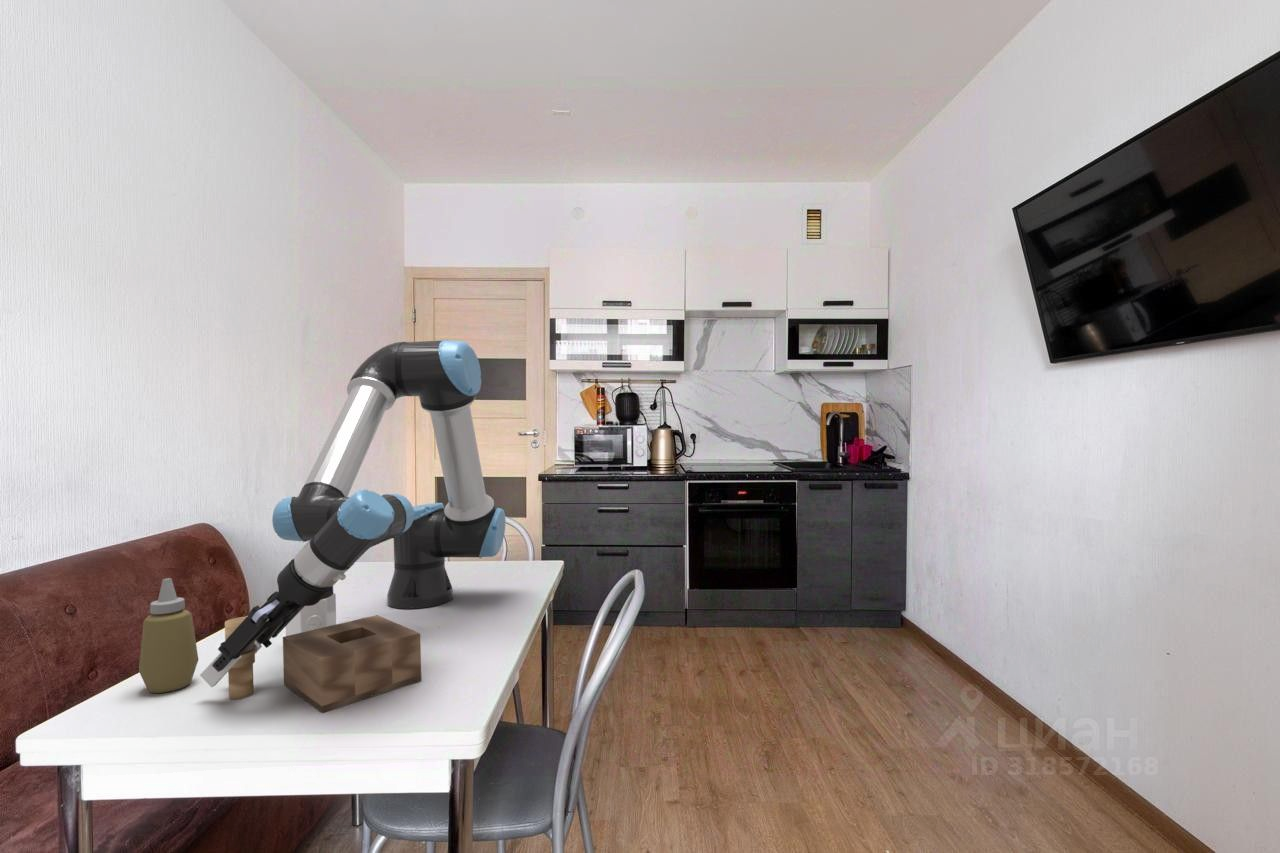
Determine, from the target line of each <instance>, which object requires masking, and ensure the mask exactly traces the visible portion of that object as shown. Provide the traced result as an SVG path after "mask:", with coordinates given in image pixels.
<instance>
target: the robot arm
mask: <svg viewBox="0 0 1280 853" xmlns="http://www.w3.org/2000/svg"><path fill="white" fill-rule="evenodd" d="M481 376H482V371H481V365H480V362H479V359H478V356H477V354H476V352H475V350H474V349H473V347H472V346H471V345H470V344H468V343H467V342H465V341H463V340H449V339H445V340H426V341H397V342H393V343H390V344H388V345H385V346H383V347H381V348H380V349H377V350H376V351H375V352H373V353H372V354H371V355H370V356H369V357H367V358H366V359H365V360H364V361H363V362H362V363H361V364H360V365H359V367H357V369H356V370H355V372H353V375H352V376H351V378H350V380H349V382H348V384H347V386H346V394H347V398H346V400H345V402H344V404H343V406H342V408H341V410H340V412H339V414H338V416H337V418H336V421H335V422H334V423H333V426H332V428H331V430H330V432H329V434H328V436H327V438H326V441H325V443H324V444H323V447H322V449H321V451H320V452H319V453H318V456H317V458H316V461H315V463H314V464H313V466H312V469H311V470H310V472H309V475H308V476H307V479H306V480H305V482H304V485H303V486H302V488H301V490H300V492H299V494H298V496H290V497H285V498H283V499H281V501H278V502H277V504H276V505H275V507H274V509H273V511H272V512H273V513H272V519H271V521H272V522H271V523H272V528H273V531H274V532H275V533H276V536H277V537H279V538H280V539H281V540H285V541H293V542H303V543H306V544H304V546H303V547H302V548H300V550H299V551H298V552H297V553H296V554H295V555H294V558H292V559H291V560H290V562H288V563H287V564H286V565H285V566H284V568H282V570H281V571H280V572H279V573H278V575H277V577H276V579H277V580H276V582H277V588H278V591H274V592H273V593H272V594H271V595H270V596H268V598H267V599H266V601H265V603H264V604H262V606H259V605H256V606H254V607H252V609H251V610H250V612H248V615H247V616H245V617H246V618H245V619H244V621H243V622H242V623H241V624H240V625H239V626H238V627H237V628H236V629H235V631H234V632H233V633H232V634H231V635H230V636H229V637H228V638H227V639H226V640H225V639H224V641H223V642H221V643H220V644H219V647H218V649H217V651H218V652H220V653H219V654H218V655H217V656H216V657H215V658H214V659H213V660H212V661H211V663H210V664H209V665H208V666H207V667H206V668H205V669H204V670H203V671H202V673H200V674H199V676H200V677H201V678H202V679H203V681H205V683H206V684H208V686H210V688H213V687H215V686H216V685H217V684H218V683H219V682H220V681H221V680H222V679H223V678H224V677H225V675H226V674H228V671H229V670H230V669H231V668H232V667H233V666H234V665H235V664H236V663H237V661H238V660H239V659H240V658H241V656H240V655H241V654H242V653H243V652H244V651H245V650H246V649H247V648H248V647H249V646H250V645H251V644H252V643H253V642H255V655H256V654H257V653H258V651H260V649H261V648H263V647H262V646H264V647H265V648H266V649H267V648H269V647H270V646H271V645H273V643H272V642H271V641H270V640H271V639H274V638H276V637H278V636H279V634H280V633H281V632H282V631H283V629H286V626H287V624H288V623H289V622H290V621H291V620H292V619H293V618H294V617H295V616H296V615H297V614H298V613H299V612H300V611H301V610H302V609H303V608H304V606H312V605H315V604H317V603H318V602H319V601H320V600H321V599H322V598H323V597H324V596H325V595H326V594H327V593H328V591H329V590H330V589H331V587H332V586H333V587H334V585H335V584H336V583H337V582H339V580H340V581H344V580H345V579H346V578H347V575H346V574H345V573H347V571H349V569H351V568H352V567H353V566H354V564H355V563H356V562H357V561H358V560H359V559H360V558H361V557H363V555H364V554H365V553H366V552H367V551H368V550H369V549H370V548H373V547H375V546H377V545H379V544H381V543H384V542H387V541H389V540H392V539H393V560H394V562H393V564H394V567H393V568H394V570H393V575H392V579H391V582H390V585H389V587H388V591H387V595H386V597H387V598H386V600H387V602H386V603H387V606H389V607H390V608H391V607H392V608H394V609H408V610H410V609H422V608H430V607H434V606H438V605H442V604H445V603H447V602H450V601H451V600H452V599H453V598H454V597H453V596H454V592H453V590H454V589H453V585H452V583H451V580H450V577H449V575H448V572H447V569H446V566H445V565H446V564H445V561H446V560H445V558H479V559H481V558H492V557H495V556H497V555H498V553H499V552H500V550H501V548H502V546H503V544H504V537H505V533H506V514H505V510H504V509H503V508H500V507H497V508H496V507H495V506H496V505H495V501H494V499H493V497H491V496H490V495H488V494H487V492H486V488H485V482H484V477H483V472H482V470H483V469H482V465H481V461H480V456H479V449H478V444H477V438H476V432H475V426H474V422H473V416H472V411H471V406H472V404H473V403H474V402H475V400H476V395H477V394H478V393H479V392H480V391H481V386H482V377H481ZM402 397H418V398H419V402H420V407H421V409H423V411H426V412H428V413H429V415H430V417H431V418H430V419H431V423H432V428H433V434H434V438H435V443H436V448H437V453H438V456H439V461H440V465H441V470H442V471H441V472H442V476H443V480H444V484H445V489H446V494H447V500H448V502H447V503H446V505H444V503H443V502H433V503H426V504H419V505H415V506H413V504H412V503H411V501H410V500H409V499H408V498H407V497H405V496H404V495H402V494H398V493H389V494H388V493H385V494H382V495H380V494H379V493H377V492H376V491H373V490H372V491H370V490H368V489H359V490H357V491H355V492H354V493H352V494H351V496H349V494H350V491H351V489H352V488H353V485H354V483H355V480H356V478H357V476H358V474H359V472H360V469H361V467H362V464H363V462H364V460H365V457H366V456H367V453H368V450H369V448H370V446H371V443H372V441H373V439H374V436H375V435H376V432H377V430H378V428H379V426H380V423H381V421H382V419H383V417H384V415H385V412H386V411H388V410H390V409H392V408H393V406H394V405H395V401H396V400H398V399H400V398H402Z"/></svg>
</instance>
